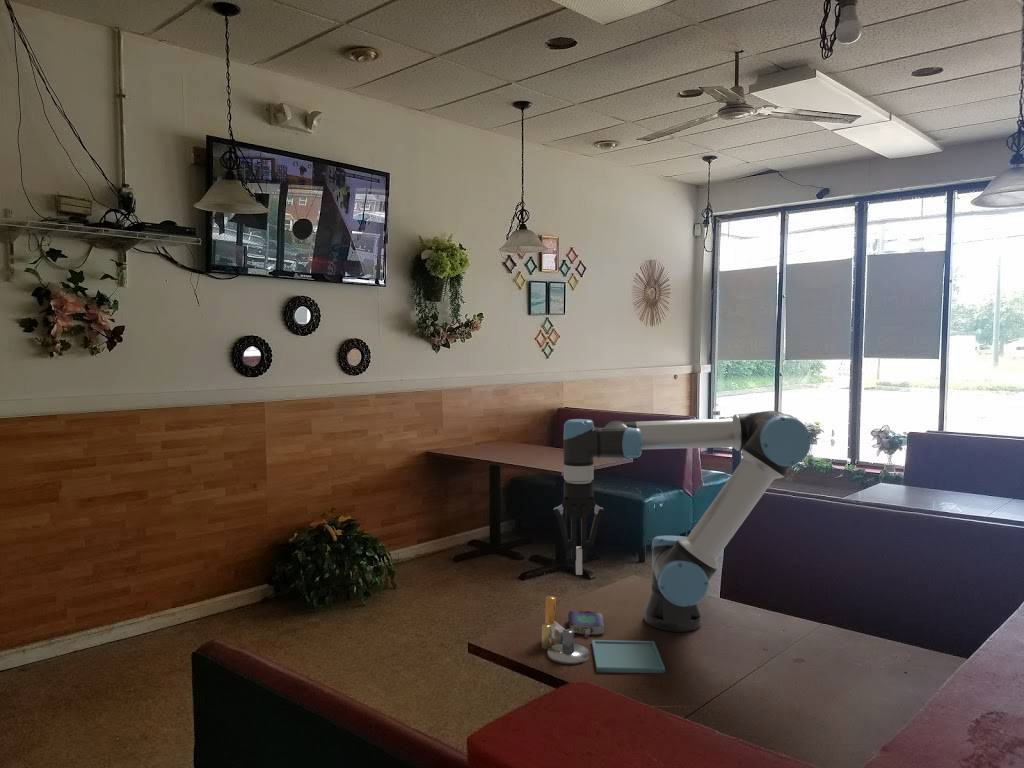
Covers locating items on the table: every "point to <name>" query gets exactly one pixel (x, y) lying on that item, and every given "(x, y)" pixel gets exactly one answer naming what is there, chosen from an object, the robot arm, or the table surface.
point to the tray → (627, 656)
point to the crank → (553, 619)
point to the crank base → (563, 647)
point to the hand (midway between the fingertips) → (578, 573)
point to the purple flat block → (586, 622)
